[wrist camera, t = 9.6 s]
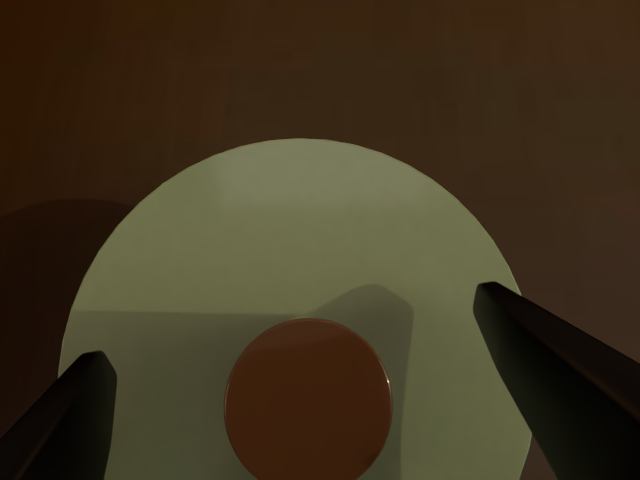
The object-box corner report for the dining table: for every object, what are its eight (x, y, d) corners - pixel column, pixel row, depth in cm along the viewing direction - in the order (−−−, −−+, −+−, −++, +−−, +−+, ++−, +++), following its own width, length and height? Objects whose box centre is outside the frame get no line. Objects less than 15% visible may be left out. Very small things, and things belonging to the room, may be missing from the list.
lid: (541, 204, 14) (740, 118, 7) (479, 652, 11) (692, 1054, 5) (156, 111, 13) (38, -55, 7) (13, 545, 11) (-330, 829, 5)
